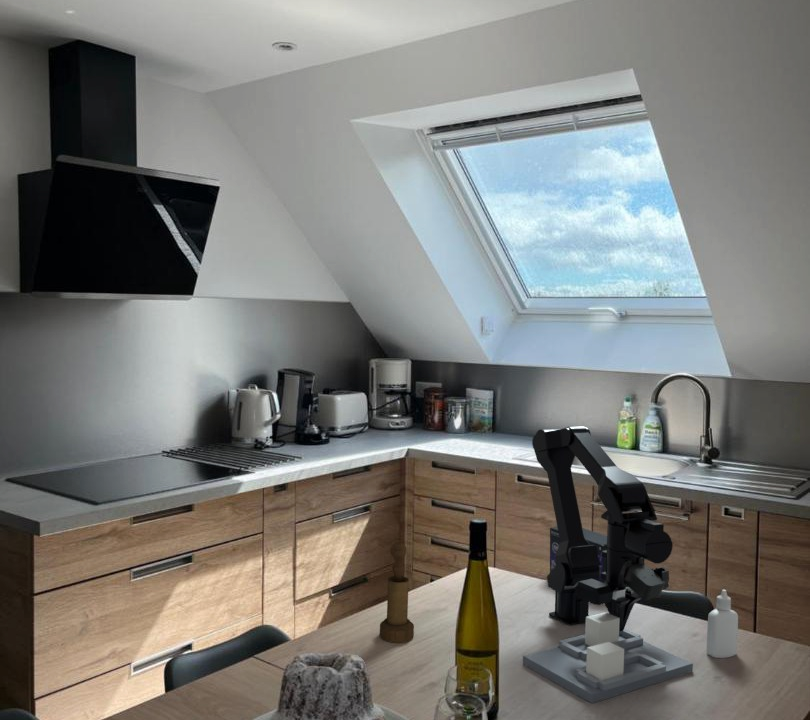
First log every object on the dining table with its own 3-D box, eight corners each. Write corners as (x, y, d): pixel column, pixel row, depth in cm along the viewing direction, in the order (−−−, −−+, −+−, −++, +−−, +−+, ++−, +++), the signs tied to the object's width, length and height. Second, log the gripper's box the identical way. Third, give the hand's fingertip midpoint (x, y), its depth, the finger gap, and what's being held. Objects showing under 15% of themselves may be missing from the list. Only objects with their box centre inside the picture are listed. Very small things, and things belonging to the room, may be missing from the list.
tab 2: (586, 676, 139) (587, 647, 139) (607, 670, 142) (608, 641, 142) (601, 685, 136) (602, 655, 136) (623, 678, 139) (624, 648, 139)
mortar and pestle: (419, 640, 157) (421, 546, 156) (386, 645, 155) (388, 549, 154) (406, 628, 163) (408, 537, 162) (374, 632, 161) (376, 539, 160)
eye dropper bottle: (702, 648, 156) (705, 585, 156) (734, 650, 156) (737, 587, 155) (708, 658, 152) (711, 593, 151) (740, 660, 151) (743, 595, 151)
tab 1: (584, 643, 153) (585, 616, 153) (604, 638, 156) (605, 612, 156) (598, 650, 150) (599, 623, 150) (618, 645, 153) (619, 618, 153)
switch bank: (522, 663, 148) (522, 649, 148) (619, 638, 160) (620, 625, 160) (592, 703, 133) (592, 688, 133) (693, 671, 146) (693, 657, 146)
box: (547, 576, 198) (549, 526, 197) (568, 571, 201) (569, 522, 201) (601, 597, 184) (602, 543, 183) (622, 592, 187) (623, 539, 187)
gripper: (619, 567, 143) (616, 656, 144) (691, 551, 153) (688, 635, 154) (573, 550, 152) (571, 634, 153) (644, 537, 162) (641, 616, 163)
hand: (619, 630), depth 155 cm, fingers closed
